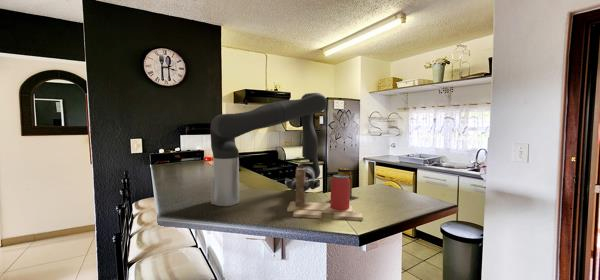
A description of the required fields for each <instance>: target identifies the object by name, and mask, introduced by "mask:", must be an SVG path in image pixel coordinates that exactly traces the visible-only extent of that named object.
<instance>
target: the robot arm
mask: <svg viewBox="0 0 600 280" xmlns="http://www.w3.org/2000/svg"><path fill="white" fill-rule="evenodd" d="M327 105H328V101H327V98H326V96H325V95H324V94H322V93H320V92H311V93H305V94H303V95H302V96H301V97H300V98H299V99H286V100H278V101H274V102H270V103H266V104H263V105H261V106H258V107H256V108H254V109H252V110H249V111H244V112H237V113H236V112H235V113H221V114H218V115H216V116H215V117H214V118H212V119H211V123H210V128H209V129H210V147H211V148H210V149H211V151H212V168H213V169H212V171H213V173H212V174H213V177H212V178H210V190H211V191H210V192H211V193H210V196H211V197H210V200H211V201H210V202H211V203H210V204H211V205H215V206H218V207H229V206H234V205H238V204H239V203H240V170H239V169H240V160H239V159H240V156H239V155H240V153H239V149H238V147H237V145H236V138H239V137H240V136H242V135H245V134H248V133H250V132H252V131H253V132H254V131H255V130H260V129H266V128H271V127H276V126H278V125H281V124H284V123H287V122H290V121H293V120H295V119H299V118H300V119H301V127H302V152H301V156H302V158H303V159H307V160H310V161H311V163H310V162H309V163H307V162H301V163H299V165H298V167H297V168H305V184H304V192H305V193H306V192H307V191H308V190H315V189H317V188H319V187H321V179H318V178H320V175H321V168H320V164H319V158H318V147H319V146H318V145H319V144H318V143H319V142H318V141H319V140H318V136H317V135H318V134H317V132H316V129H315V126H314V114H321V113H322V112H323V111H325V109H326V108H327ZM284 179H285V180H284V184H285V186H286V188H287V189H290V191H292V192H296V174H295V175H294V177H293V178H292V179H290V178H288V177H285V178H284Z"/></svg>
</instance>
